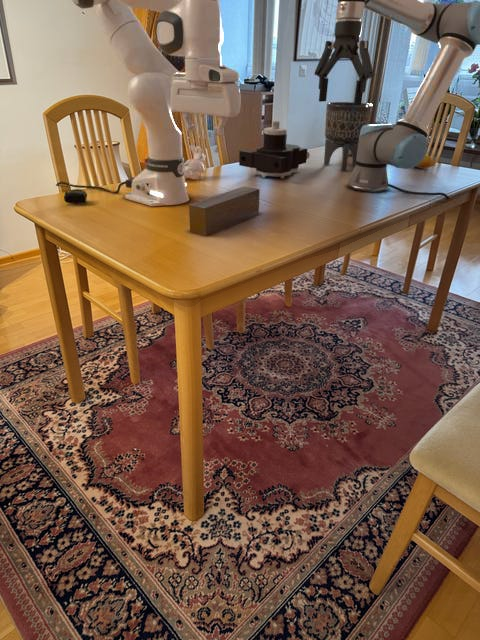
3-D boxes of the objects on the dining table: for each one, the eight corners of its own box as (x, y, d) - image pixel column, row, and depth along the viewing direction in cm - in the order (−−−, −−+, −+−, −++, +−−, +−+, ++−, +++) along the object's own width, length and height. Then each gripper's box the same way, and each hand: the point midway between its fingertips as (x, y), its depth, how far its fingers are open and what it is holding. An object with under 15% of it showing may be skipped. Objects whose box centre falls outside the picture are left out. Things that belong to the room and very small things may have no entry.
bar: (243, 210, 148) (244, 186, 144) (258, 213, 145) (259, 189, 141) (189, 231, 129) (188, 204, 125) (205, 236, 126) (205, 208, 123)
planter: (313, 167, 208) (319, 103, 195) (331, 160, 222) (338, 101, 209) (353, 173, 199) (362, 107, 185) (369, 166, 213) (379, 104, 199)
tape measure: (64, 205, 148) (62, 194, 146) (68, 199, 154) (66, 188, 152) (86, 205, 149) (84, 193, 147) (89, 199, 155) (87, 188, 153)
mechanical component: (240, 120, 182) (283, 115, 202) (239, 174, 192) (280, 164, 212) (283, 126, 170) (325, 120, 190) (280, 183, 180) (320, 171, 200)
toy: (410, 161, 206) (404, 154, 219) (412, 175, 209) (406, 167, 222) (436, 153, 203) (428, 146, 216) (438, 167, 206) (430, 160, 219)
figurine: (211, 176, 188) (211, 144, 182) (188, 183, 178) (187, 149, 171) (196, 173, 192) (195, 142, 186) (172, 180, 181) (170, 146, 175)
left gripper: (163, 71, 113) (166, 130, 120) (229, 74, 103) (228, 139, 110) (180, 71, 118) (182, 128, 124) (244, 73, 107) (243, 136, 114)
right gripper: (307, 21, 135) (301, 100, 146) (378, 18, 119) (365, 107, 130) (323, 23, 139) (316, 99, 150) (394, 20, 123) (380, 105, 134)
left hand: (204, 133), depth 117 cm, fingers open, 8 cm apart
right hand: (339, 103), depth 140 cm, fingers open, 13 cm apart
